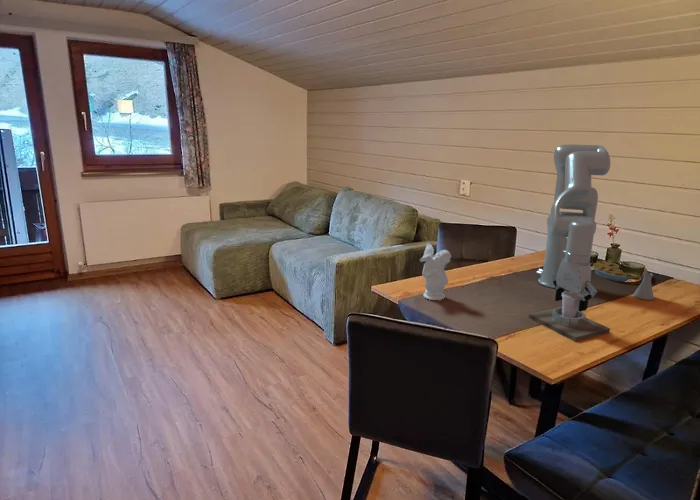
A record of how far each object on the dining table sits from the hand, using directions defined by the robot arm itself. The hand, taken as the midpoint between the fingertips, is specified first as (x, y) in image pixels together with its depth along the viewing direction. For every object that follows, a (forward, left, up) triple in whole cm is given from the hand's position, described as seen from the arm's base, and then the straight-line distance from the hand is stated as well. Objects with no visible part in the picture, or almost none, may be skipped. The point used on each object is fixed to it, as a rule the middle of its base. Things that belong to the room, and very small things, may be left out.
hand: (570, 305), depth 157 cm
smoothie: (0, 0, -6) cm, 6 cm away
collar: (0, 0, -6) cm, 6 cm away
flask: (-6, +49, -8) cm, 50 cm away
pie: (-28, +64, -8) cm, 70 cm away
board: (0, 0, -7) cm, 7 cm away
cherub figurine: (-40, -30, -7) cm, 51 cm away
